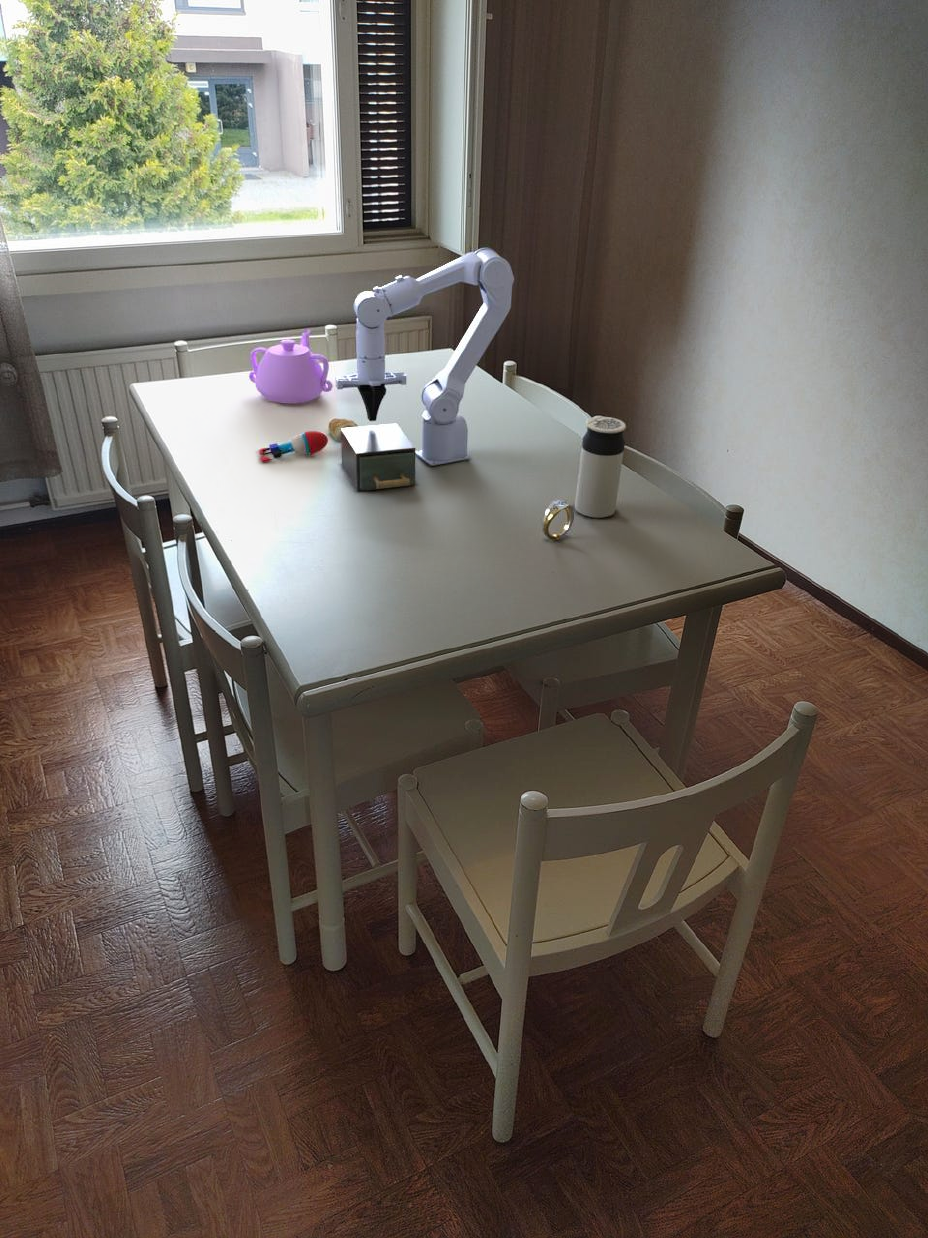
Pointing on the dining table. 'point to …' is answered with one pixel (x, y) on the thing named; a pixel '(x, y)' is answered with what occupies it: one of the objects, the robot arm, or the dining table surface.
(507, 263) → the robot arm
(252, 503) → the dining table surface
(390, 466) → the drawer
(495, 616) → the dining table surface
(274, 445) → the toy figure
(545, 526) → the ring
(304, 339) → the teapot
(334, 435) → the pastry
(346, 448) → the cabinet
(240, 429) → the dining table surface
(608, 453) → the travel mug
